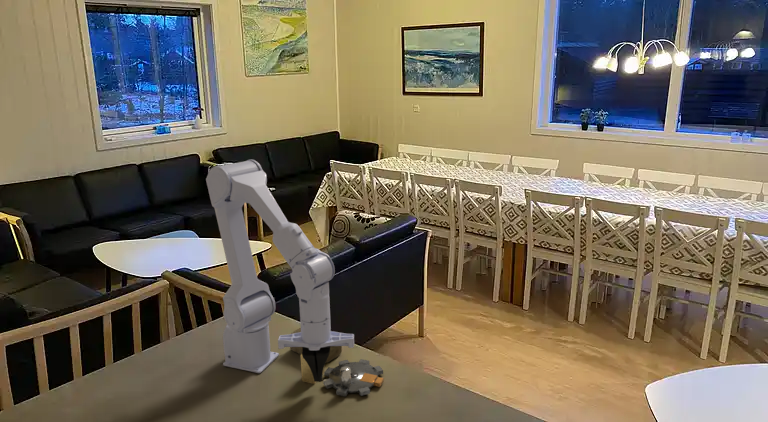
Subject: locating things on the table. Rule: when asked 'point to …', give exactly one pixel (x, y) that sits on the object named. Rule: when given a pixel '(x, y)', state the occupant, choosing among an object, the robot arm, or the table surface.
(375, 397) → the table surface
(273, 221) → the robot arm
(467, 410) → the table surface
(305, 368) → the tan rectangular block
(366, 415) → the table surface
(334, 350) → the stone block
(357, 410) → the table surface
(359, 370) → the sprocket
